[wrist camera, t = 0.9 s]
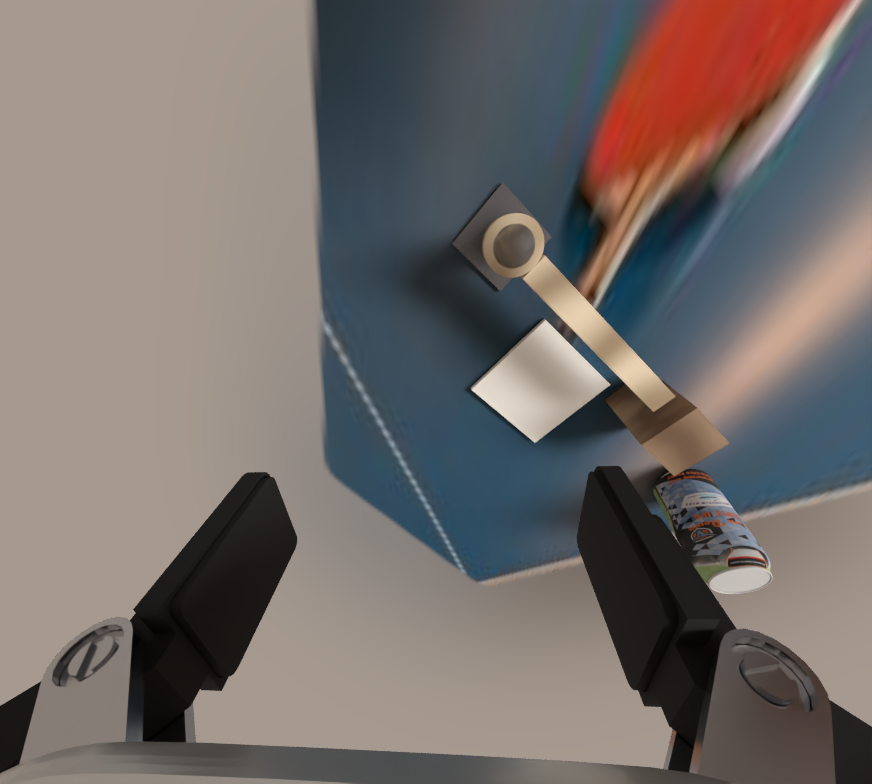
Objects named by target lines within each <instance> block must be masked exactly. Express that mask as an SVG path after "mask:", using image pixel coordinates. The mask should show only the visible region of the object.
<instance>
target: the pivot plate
mask: <svg viewBox="0 0 872 784" xmlns="http://www.w3.org/2000/svg"><path fill="white" fill-rule="evenodd" d="M510 213H522V214H526V215H528V216H530V217H532V218H533V219H535V218H534V217H533V215H532V214H531V213H530V212H529V211H528V210H527V209H526V208H525V207H524V205H523V204H522V203H521V202H520V201H519V200H518V199H517V198H516V197H515V195H514V194H513V193H512V192H511V191H510V190H509V189H508V188H507V187H506V185H505V184H504V183H502V184H501V185H500V186H499V187H498V188H497V190H496V191H495V192H494V193H493V195H492V196H491V197H490V198H489V199H488V201H487V202H486V203H485V204H484V205H483V207H482V208H481V209H480V210H479V211H478V213H477V214H476V215H475V216H474V218H473V219H472V220H471V221H470V222H469V224H468V225H467V226H466V227H465V228H464V230H463V231H462V232H461V233H460V234H459V236H458V237H457V238H456V239H455V241H454V242H453V243H452V244H453V245H454V246H455V247H456V248H457V249H458V250H459V251H460V252H461V253H462V254H463V255H464V256H465V257H466V258H467V259H468V260H469V261H470V262H471V263H472V264H473V265H474V266H475V267H476V268H477V269H478V270H479V271H480V272H481V273H482V274H483V275H484V276H485V277H486V278H487V279H488V280H489V281H490V282H491V283H492V284H493V285H494V286H496V287H497V288H498V289H499V290H500V291H501V290H502V289H503V288H504V287H505V286H506V285H507V284H508V282H509V281H510V280H511V279H512V278H509V277H504V276H501V275H499V274H497V273H495V272H494V271H493V270H492V269H491V268H490V266H489V265H488V264H487V262H486V260H485V259H484V256H483V253H482V239H483V235H484V233H485V231H486V229H487V227H488V226H489V225H490V223H491V222H492V221H494V220H495V219H496V218H498V217H500V216H502V215H505V214H510ZM535 220H536V219H535ZM536 221H537V220H536ZM537 222H538V221H537ZM538 224H539V225H540V227H541V229H542V231H543V235H544V245H545V244H546V243H547V242H548V241H549V240H550V239H551V238H552V237H551V235H550V234H549V233H548V232H547V231H546V230H545V229H544V228H543V227H542V225H541V224H540V223H539V222H538Z"/></svg>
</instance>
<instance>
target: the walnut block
mask: <svg viewBox="0 0 872 784" xmlns="http://www.w3.org/2000/svg"><path fill="white" fill-rule="evenodd" d="M659 379H660V378H659ZM660 380H661V379H660ZM661 381H662V380H661ZM662 382H663V383H664V384H665V385H666V387H667V388H668V389H669V390H670V391H671V392H672V393H673V394H674V395H675V396H676V397H674V398H673V399H672V400H670V401H669V402H667V403H666V404H664V405H663V406H661V407H660V408H659V409H657V410H656V411H654V412H653V411H652V410H651V409H650V408H649V407H648V406H647V405H646V404H645V403H644V402H643V401H642V400H641V399H640V398H639V397H638V396H637V395H636V394H635V393H634V392H633V391H632V390H631V389H630V388H629V387H628V386H627V385H626V384H625V385H624V386H622V387H621V388H620V389H618V390H617V391H616V392H614V393H613V394H612V395H610V396H609V397H608V398H606V399H605V401H606V402H607V404H608V405H609V406H610V407H611V408H612V410H613V411H614V412H615V413H616V415H617V416H618V417H619V418H620V419H621V421H622V422H623V423H624V424H625V426H626V427H627V428H628V429H629V430H630V432H631V433H632V434H633V435H634V437H635V438H636V439H637V440H638V441H639V443H640V444H641V445H642V446H643V447H644V448H645V449H646V450H647V451H648V452H649V453H650V454H651V455H652V456H653V457H654V458H656V459H657V460H658V461H659V462H660V463H661V464H662V465H663V466H664V467H665V468H666V469H667V470H668V471H669V472H670V473H671V474H672V475H673V476H675V475H677V474H679V473H680V472H682V471H684V470H685V469H687V468H689V467H691V466H692V465H694V464H696V463H697V462H699V461H701V460H702V459H704V458H706V457H707V456H709V455H711V454H712V453H714V452H716V451H717V450H719V449H721V448H722V447H724V446H726V445H727V444H729V442H728V441H727V440H726V439H725V438H724V437H723V436H722V434H721V433H720V432H719V431H718V430H717V429H716V428H715V427H714V426H713V425H712V423H711V422H710V421H709V420H708V419H707V418H706V417H705V416H704V415H703V414H702V413H701V411H700V410H699V409H698V408H697V407H695V406H694V405H693V404H692V403H690V402H689V401H688V400H687V399H685V398H684V397H683V396H681V395H680V394H679V393H678V392H676V391H675V390H674V389H672V388H671V387H670V386H669V385H667V384H666V383H665V382H664V381H662Z"/></svg>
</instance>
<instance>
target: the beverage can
mask: <svg viewBox="0 0 872 784" xmlns="http://www.w3.org/2000/svg"><path fill="white" fill-rule="evenodd" d="M653 493H654V495H655V497H656V499H657V501H658V503H659V505H660V507H661V509H662V511H663V513H664V514H665V516H666V518H667V520H668V522H669V524H670V526H671V528H672V530H673V532H674V534H675V536H676V538H677V539H678V541H679V543H680V545H681V547H682V549H683V551H684V552H685V554H686V555H687V557H688V558H689V560H690V561H691V563H692V564H693V565H694V567H695V568H696V570H697V571H698V573H699V574H700V576H701V577H702V579H703V580H704V581H705V582H706V583H708V585H709V587H710V588H711V589H713V590H714V591H716V592H719V593H725V594H741V593H747V592H752V591H756V590H759V589H761V588H763V587H765V586H767V585H768V584H769V583H770V582H771V581H772V579H773V577H772V574H771V573H770V560H769V558H768V556H767V555H766V554H765V552H764V551H763V549H762V548H761V546H760V545H759V544H758V542H757V541H756V539H755V538H754V537H753V535H752V534H751V533H750V531H749V530H748V529H747V527H746V526H745V524H744V523H743V521H742V520H741V519H740V517H739V516H738V514H737V513H736V512H735V510H734V509H733V507H732V506H731V505H730V503H729V502H728V501H727V499H726V498H725V496H724V495H723V494H722V492H721V491H720V489H719V488H718V487H717V485H716V484H715V482H714V481H713V480H712V478H711V477H710V476H709V475H708V474H707V473H705V472H704V471H701V470H696V469H685V470H684V471H682V472H680V473H679V474H677V475H675V476H673V475H672V474H671V473H670V472H668V473H666V474H665V475H663V476H662V477H661V478H660V479H659V480H658V481H657V482H656V483H655V485H654V488H653Z"/></svg>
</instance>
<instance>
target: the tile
mask: <svg viewBox="0 0 872 784" xmlns="http://www.w3.org/2000/svg"><path fill="white" fill-rule="evenodd" d="M608 386H610V384H609V383H608V382H607V381H606V380H605V379H604V378H603V377H602V376H601V375H600V374H599V373H598V372H597V371H596V370H595V369H594V368H593V367H592V366H591V365H590V364H589V363H588V362H587V361H586V360H585V359H584V358H583V357H582V356H581V355H580V354H579V353H578V352H577V351H576V350H575V349H574V348H573V347H572V346H571V345H570V344H569V343H568V342H567V341H566V340H565V339H564V338H563V337H562V336H561V335H560V334H559V333H558V332H557V331H556V330H555V329H554V328H553V327H552V326H551V325H550V324H549V323H548V322H547V321H546V320H545V319H543V320H542V321H541V322H540V323H539V324H538V325H537V326H535V327H534V328H533V329H532V330H531V331H530V332H529V333H528V334H527V335H526V336H525V337H524V338H523V339H522V340H521V341H519V342H518V343H517V344H516V345H515V346H514V347H513V348H512V349H511V350H510V351H509V352H508V353H507V354H506V355H505V356H504V357H502V358H501V359H500V360H499V361H498V362H497V363H496V364H495V365H494V366H493V367H492V368H491V369H490V370H489V371H488V372H487V373H485V374H484V375H483V376H482V377H481V378H480V379H479V380H478V381H477V382H476V383H475V384H474V385H473V386H472V387H471V390H472V391H473V392H475V393H476V394H477V395H478V396H479V397H481V398H482V399H483V400H484V401H485V402H487V403H488V404H489V405H490V406H491V407H493V408H494V409H495V410H496V411H497V412H498V413H500V414H501V415H502V416H503V417H504V418H506V419H507V420H508V421H509V422H510V423H512V424H513V425H514V426H515V427H516V428H518V429H519V430H520V431H521V432H522V433H524V434H525V435H526V436H527V437H528V438H530V439H531V440H532V441H533V442H534V443H536V442H537V441H538V440H539V439H541V438H542V437H543V436H545V435H546V434H547V433H549V432H550V431H551V430H552V429H554V428H555V427H556V426H558V425H559V424H560V423H562V422H563V421H564V420H565V419H567V418H568V417H569V416H571V415H572V414H573V413H574V412H576V411H577V410H578V409H580V408H581V407H582V406H584V405H585V404H586V403H587V402H589V401H590V400H591V399H593V398H594V397H595V396H597V395H598V394H599V393H600V392H602V391H603V390H604V389H606V388H607V387H608Z"/></svg>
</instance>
